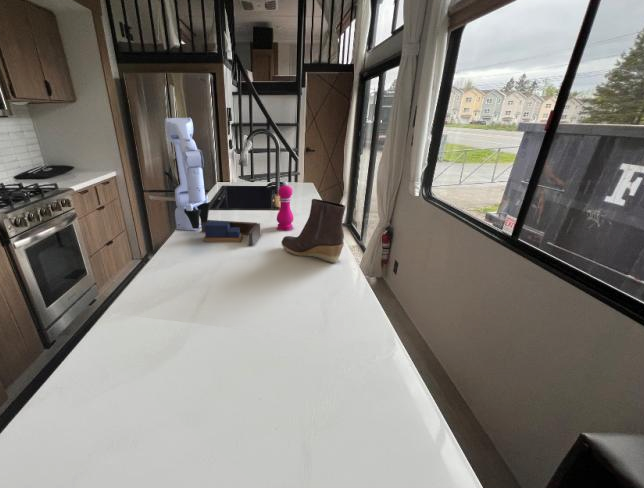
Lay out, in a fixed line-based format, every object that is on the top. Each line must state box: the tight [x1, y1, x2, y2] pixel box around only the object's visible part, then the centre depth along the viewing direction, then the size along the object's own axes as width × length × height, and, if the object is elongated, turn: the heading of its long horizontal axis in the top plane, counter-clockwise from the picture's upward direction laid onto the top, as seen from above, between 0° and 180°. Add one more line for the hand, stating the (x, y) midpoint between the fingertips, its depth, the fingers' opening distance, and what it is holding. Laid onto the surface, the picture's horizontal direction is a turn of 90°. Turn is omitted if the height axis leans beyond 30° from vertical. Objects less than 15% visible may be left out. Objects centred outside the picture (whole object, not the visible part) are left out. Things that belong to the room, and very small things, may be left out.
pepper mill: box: [276, 181, 294, 232], centre depth 136 cm, size 7×7×20 cm
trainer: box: [203, 220, 243, 243], centre depth 128 cm, size 14×6×6 cm, turn 88°
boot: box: [281, 198, 347, 264], centre depth 110 cm, size 9×24×20 cm, turn 53°
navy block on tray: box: [200, 219, 261, 247], centre depth 130 cm, size 26×13×5 cm, turn 78°
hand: (200, 225), depth 118 cm, fingers open, 7 cm apart
